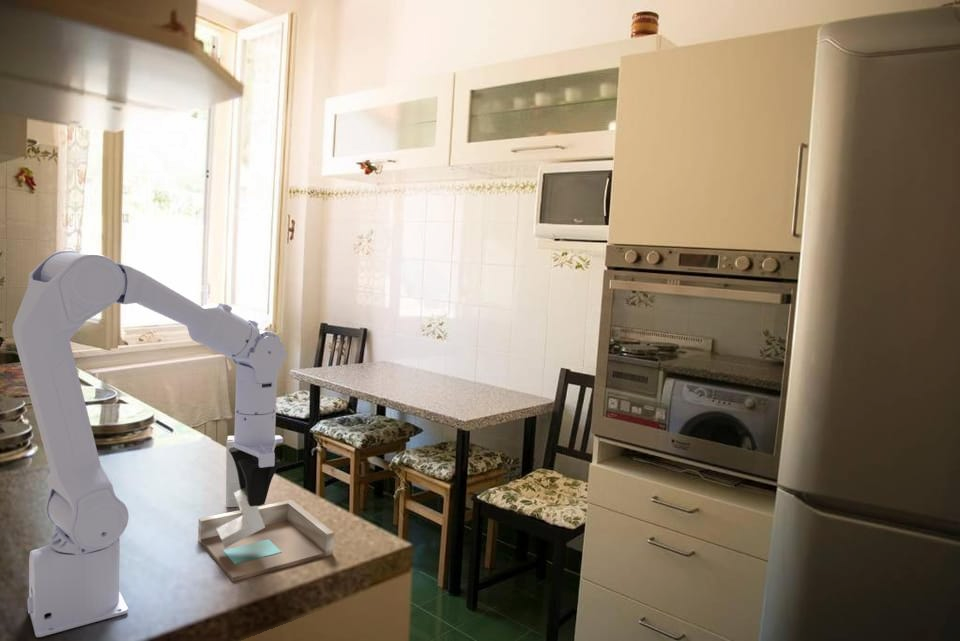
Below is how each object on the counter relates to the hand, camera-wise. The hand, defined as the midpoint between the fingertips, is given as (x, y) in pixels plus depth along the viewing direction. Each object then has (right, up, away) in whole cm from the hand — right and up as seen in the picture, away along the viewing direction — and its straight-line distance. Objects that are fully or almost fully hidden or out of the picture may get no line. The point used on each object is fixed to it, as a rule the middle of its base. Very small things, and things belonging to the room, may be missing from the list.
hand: (252, 499), depth 96 cm
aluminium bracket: (-1, -5, 0) cm, 5 cm away
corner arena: (+1, -8, +2) cm, 9 cm away
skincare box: (-8, -6, +19) cm, 22 cm away
